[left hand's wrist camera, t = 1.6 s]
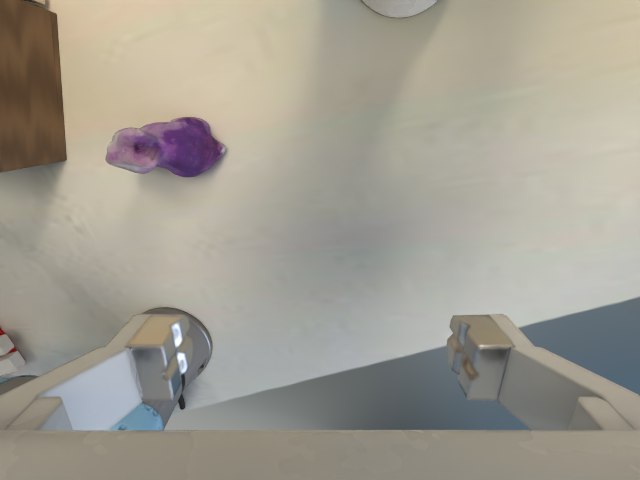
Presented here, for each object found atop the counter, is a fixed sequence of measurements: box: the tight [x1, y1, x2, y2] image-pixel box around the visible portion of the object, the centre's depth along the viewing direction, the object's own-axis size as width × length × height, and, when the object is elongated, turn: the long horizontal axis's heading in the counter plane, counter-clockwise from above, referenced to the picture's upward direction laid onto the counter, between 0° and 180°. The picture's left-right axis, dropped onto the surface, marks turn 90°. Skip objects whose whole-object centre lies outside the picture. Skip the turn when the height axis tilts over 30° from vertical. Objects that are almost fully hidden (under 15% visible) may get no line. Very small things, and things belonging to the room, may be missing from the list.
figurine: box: [106, 117, 225, 177], centre depth 43 cm, size 9×10×15 cm
